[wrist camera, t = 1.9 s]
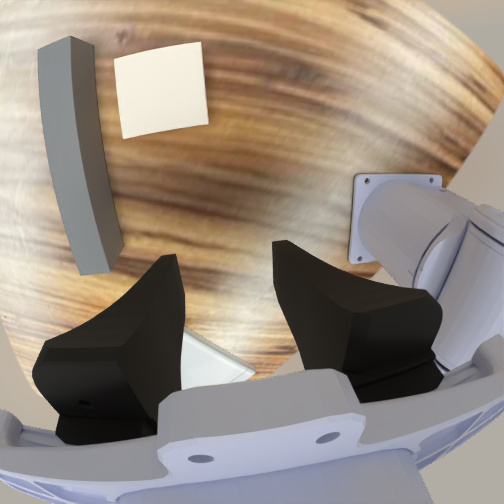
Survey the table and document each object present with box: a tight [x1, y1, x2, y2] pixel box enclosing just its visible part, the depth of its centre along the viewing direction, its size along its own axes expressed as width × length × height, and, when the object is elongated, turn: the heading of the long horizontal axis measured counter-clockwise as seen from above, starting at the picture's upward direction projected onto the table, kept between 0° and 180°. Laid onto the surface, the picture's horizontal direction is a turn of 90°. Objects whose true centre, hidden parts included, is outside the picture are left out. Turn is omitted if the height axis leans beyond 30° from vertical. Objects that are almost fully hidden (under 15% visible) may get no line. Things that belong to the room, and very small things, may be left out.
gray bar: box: [38, 36, 124, 276], centre depth 16 cm, size 2×16×4 cm, turn 4°
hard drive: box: [181, 326, 256, 390], centre depth 29 cm, size 2×8×12 cm
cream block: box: [114, 42, 209, 139], centre depth 16 cm, size 5×5×4 cm
